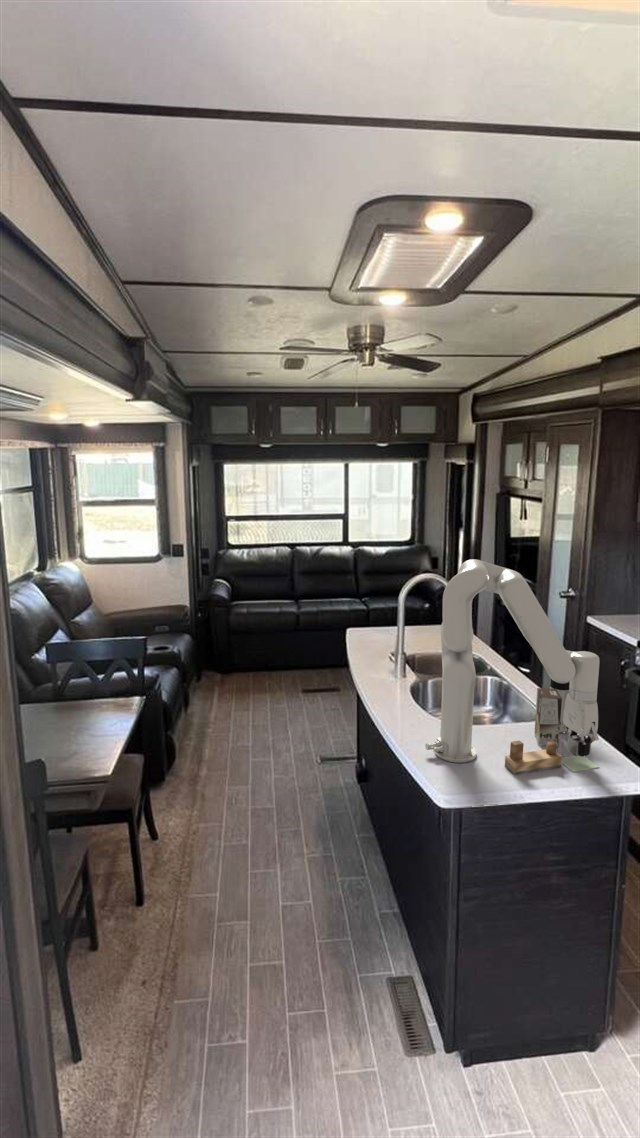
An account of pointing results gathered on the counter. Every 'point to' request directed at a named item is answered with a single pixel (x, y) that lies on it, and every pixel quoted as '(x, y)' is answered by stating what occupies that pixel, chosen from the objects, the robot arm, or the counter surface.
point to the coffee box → (547, 716)
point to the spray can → (563, 691)
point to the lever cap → (575, 744)
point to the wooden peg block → (532, 758)
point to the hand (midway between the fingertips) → (578, 751)
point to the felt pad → (578, 763)
